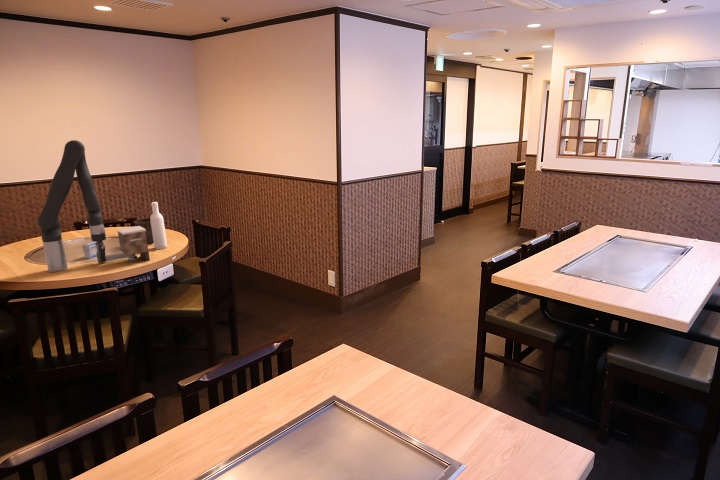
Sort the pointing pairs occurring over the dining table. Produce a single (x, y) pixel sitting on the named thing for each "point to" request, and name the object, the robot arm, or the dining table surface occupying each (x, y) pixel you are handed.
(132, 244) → the walnut cabinet
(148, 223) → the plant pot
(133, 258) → the steel token
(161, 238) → the bottle
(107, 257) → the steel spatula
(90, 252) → the medicine box
